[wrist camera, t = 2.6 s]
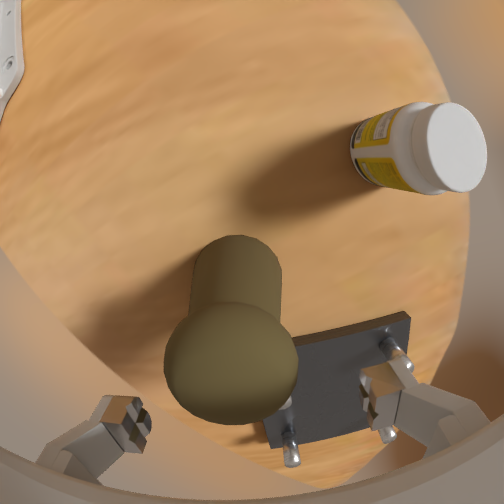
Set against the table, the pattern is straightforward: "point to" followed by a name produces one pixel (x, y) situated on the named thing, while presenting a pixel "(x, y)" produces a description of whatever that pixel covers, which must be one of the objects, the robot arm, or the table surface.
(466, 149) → the supplement bottle
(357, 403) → the standoff chassis
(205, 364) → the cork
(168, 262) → the table surface
